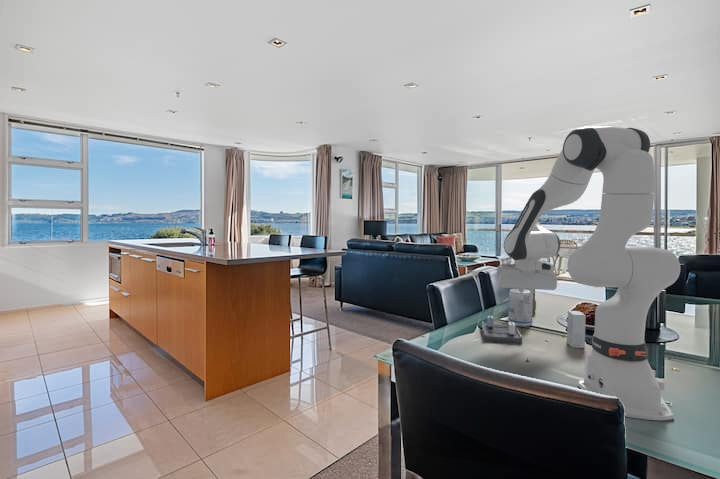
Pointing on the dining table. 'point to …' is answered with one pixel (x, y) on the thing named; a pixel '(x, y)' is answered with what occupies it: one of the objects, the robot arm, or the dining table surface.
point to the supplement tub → (520, 308)
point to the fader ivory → (511, 327)
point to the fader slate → (490, 321)
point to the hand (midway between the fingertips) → (526, 300)
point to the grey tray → (500, 334)
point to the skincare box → (576, 329)
